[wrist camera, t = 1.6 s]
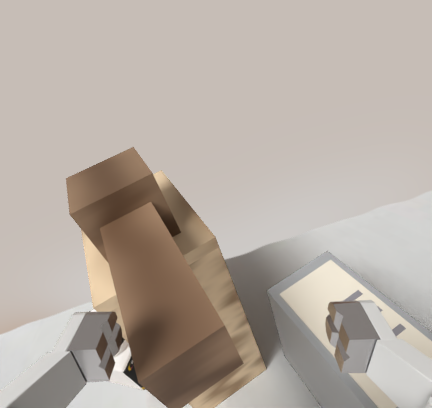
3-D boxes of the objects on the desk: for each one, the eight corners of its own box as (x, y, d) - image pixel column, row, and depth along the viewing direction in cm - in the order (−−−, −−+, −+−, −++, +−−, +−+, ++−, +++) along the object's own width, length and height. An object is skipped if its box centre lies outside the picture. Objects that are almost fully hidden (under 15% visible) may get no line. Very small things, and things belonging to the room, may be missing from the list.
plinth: (329, 322, 40) (327, 248, 30) (431, 428, 29) (478, 366, 20) (284, 355, 38) (266, 288, 29) (375, 481, 28) (395, 441, 18)
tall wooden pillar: (218, 294, 48) (161, 170, 33) (266, 369, 38) (215, 237, 22) (166, 327, 46) (78, 211, 30) (201, 416, 36) (93, 307, 20)
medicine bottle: (145, 391, 40) (102, 355, 32) (105, 381, 42) (57, 345, 35) (165, 340, 45) (131, 299, 37) (128, 334, 47) (90, 294, 40)
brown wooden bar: (159, 199, 28) (133, 147, 24) (259, 352, 15) (234, 285, 11) (103, 229, 27) (66, 178, 23) (155, 426, 13) (86, 379, 10)
